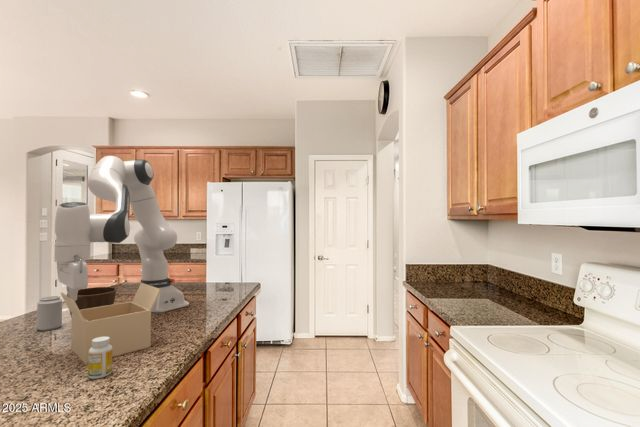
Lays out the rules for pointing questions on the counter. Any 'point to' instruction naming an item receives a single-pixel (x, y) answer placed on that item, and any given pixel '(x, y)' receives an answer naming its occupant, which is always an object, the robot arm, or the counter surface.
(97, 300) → the plant pot
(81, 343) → the carton
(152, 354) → the counter surface
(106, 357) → the supplement bottle
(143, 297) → the flap
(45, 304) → the can
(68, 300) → the flap
